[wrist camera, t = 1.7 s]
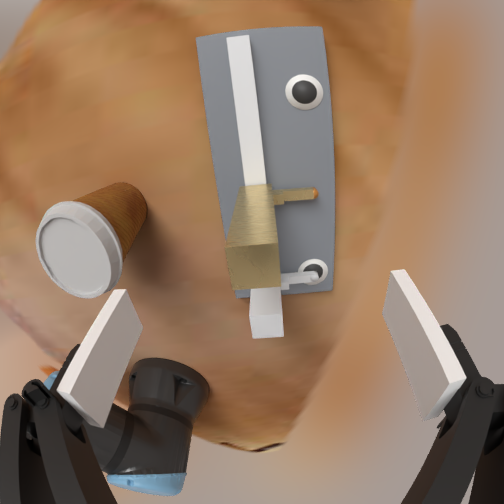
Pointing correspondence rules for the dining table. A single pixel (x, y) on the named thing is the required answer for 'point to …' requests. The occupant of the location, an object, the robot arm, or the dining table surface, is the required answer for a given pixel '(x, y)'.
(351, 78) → the dining table surface
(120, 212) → the disposable coffee cup
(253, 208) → the gold pointer slider
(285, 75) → the gauge plate
